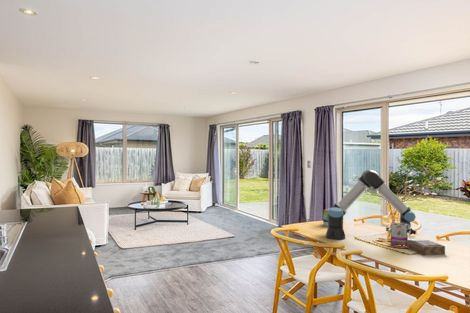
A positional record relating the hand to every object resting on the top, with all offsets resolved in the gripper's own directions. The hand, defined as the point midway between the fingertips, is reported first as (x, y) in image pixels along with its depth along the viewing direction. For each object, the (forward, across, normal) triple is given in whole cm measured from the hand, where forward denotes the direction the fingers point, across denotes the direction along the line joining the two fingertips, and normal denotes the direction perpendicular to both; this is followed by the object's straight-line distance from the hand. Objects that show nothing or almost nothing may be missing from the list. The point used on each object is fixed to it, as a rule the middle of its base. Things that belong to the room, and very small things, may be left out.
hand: (398, 232), depth 255 cm
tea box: (-48, +66, -10) cm, 82 cm away
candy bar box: (-2, 0, -10) cm, 10 cm away
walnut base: (+4, -18, -10) cm, 21 cm away
